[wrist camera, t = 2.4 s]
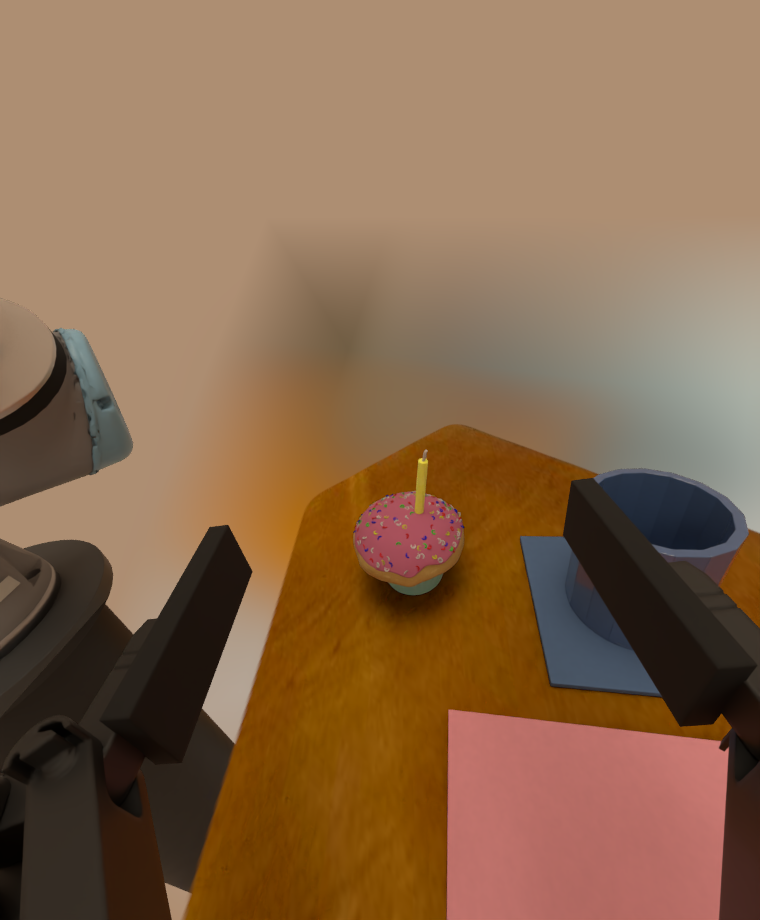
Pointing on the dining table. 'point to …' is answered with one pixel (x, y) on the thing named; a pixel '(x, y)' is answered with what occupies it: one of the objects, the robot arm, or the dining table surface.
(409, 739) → the dining table surface
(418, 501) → the cupcake
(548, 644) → the blue mat
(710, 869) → the rose mat
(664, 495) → the blue cup
